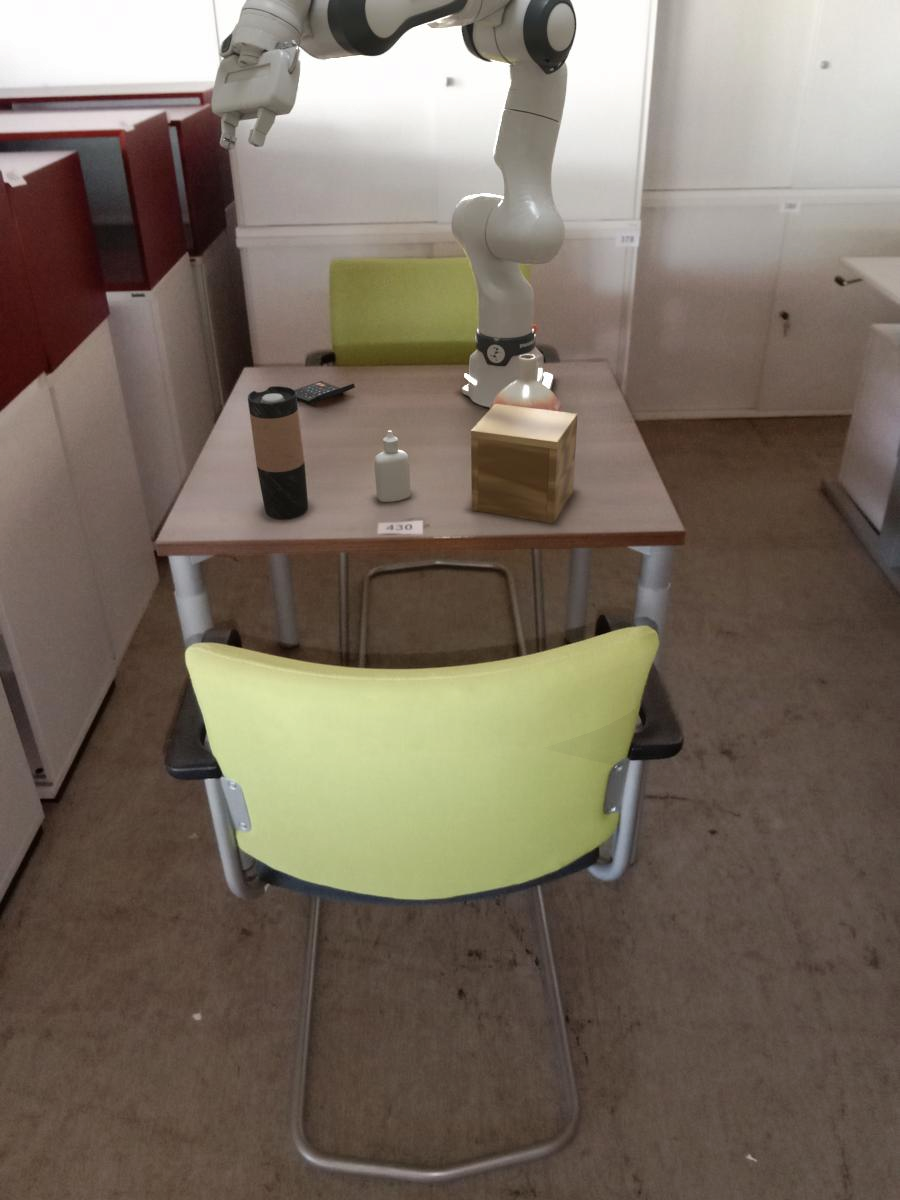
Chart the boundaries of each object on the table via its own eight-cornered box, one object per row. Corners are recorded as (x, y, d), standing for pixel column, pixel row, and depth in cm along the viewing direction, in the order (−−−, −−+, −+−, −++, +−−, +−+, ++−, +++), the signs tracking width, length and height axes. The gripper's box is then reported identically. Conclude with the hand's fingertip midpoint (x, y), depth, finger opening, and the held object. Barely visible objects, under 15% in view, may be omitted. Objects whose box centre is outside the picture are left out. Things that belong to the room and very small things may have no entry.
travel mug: (302, 522, 150) (288, 404, 139) (257, 519, 151) (239, 402, 141) (315, 500, 157) (303, 386, 146) (272, 498, 158) (256, 384, 147)
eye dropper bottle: (380, 490, 159) (375, 425, 153) (412, 492, 159) (409, 426, 152) (374, 502, 156) (370, 435, 149) (407, 504, 155) (404, 437, 148)
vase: (559, 466, 166) (564, 370, 156) (483, 462, 168) (483, 368, 158) (563, 436, 177) (568, 345, 168) (492, 433, 179) (493, 343, 170)
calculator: (321, 384, 204) (319, 371, 202) (356, 397, 197) (354, 383, 195) (286, 396, 198) (285, 382, 196) (321, 410, 191) (320, 396, 189)
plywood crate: (495, 479, 162) (495, 403, 154) (573, 491, 158) (577, 413, 150) (471, 510, 153) (470, 430, 145) (553, 523, 148) (557, 442, 141)
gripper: (321, 50, 126) (293, 153, 129) (253, 66, 141) (229, 158, 144) (281, 25, 122) (253, 132, 124) (216, 44, 137) (192, 139, 139)
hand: (240, 146), depth 134 cm, fingers open, 8 cm apart
